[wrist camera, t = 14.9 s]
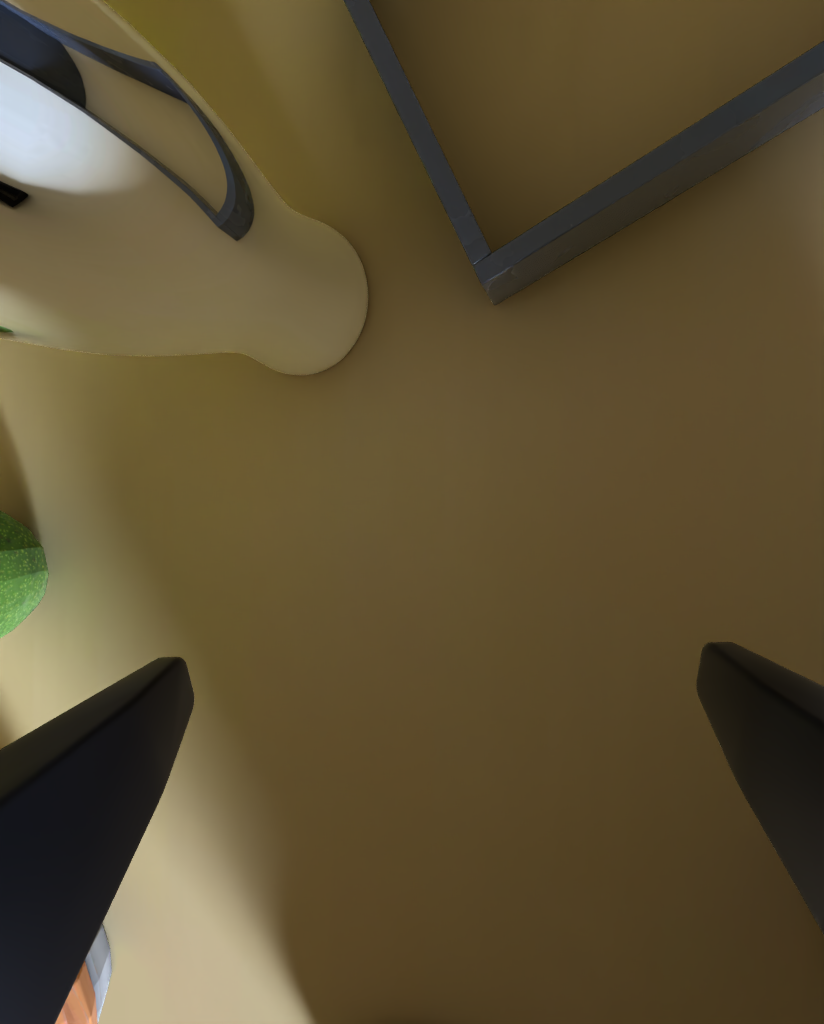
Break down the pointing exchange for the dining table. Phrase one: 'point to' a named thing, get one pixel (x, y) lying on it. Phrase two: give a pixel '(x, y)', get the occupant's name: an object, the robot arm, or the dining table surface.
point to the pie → (89, 985)
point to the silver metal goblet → (149, 210)
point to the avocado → (19, 573)
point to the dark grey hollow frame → (623, 196)
